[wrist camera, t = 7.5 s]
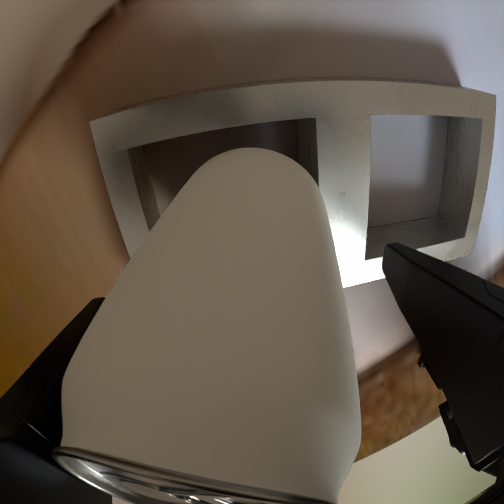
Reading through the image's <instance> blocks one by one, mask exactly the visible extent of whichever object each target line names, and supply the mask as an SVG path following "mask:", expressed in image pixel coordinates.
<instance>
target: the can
mask: <svg viewBox="0 0 504 504" xmlns="http://www.w3.org/2000/svg"><path fill="white" fill-rule="evenodd" d="M61 401H62V421H63V435H62V440H61V444H60V446H58V447H55V448H54V449H53V451H52V457H53V459H54V460H55V461H56V462H57V463H58V464H59V465H60V466H61V467H62V468H64V469H65V470H66V471H68V472H69V473H71V474H72V475H74V476H75V477H77V478H79V479H80V480H82V481H84V482H86V483H87V484H89V485H91V486H93V487H95V488H97V489H99V490H101V491H103V492H105V493H107V494H110V495H112V496H114V497H117V498H119V499H121V500H124V501H126V502H129V503H132V504H337V502H338V495H339V492H340V489H341V487H342V485H343V483H344V481H345V479H346V477H347V475H348V473H349V471H350V469H351V467H352V464H353V462H354V460H355V458H356V455H357V453H358V450H359V447H360V443H361V415H360V400H359V391H358V382H357V373H356V365H355V357H354V350H353V343H352V336H351V330H350V324H349V317H348V311H347V306H346V300H345V294H344V289H343V284H342V278H341V273H340V268H339V263H338V258H337V254H336V249H335V244H334V240H333V235H332V231H331V227H330V222H329V218H328V214H327V210H326V206H325V203H324V200H323V197H322V194H321V192H320V189H319V187H318V185H317V184H316V182H315V181H314V179H313V178H312V176H311V175H310V174H309V173H308V172H307V171H306V170H305V169H304V168H303V167H302V166H301V165H300V164H298V163H297V162H295V161H294V160H292V159H291V158H289V157H287V156H285V155H283V154H281V153H278V152H275V151H272V150H268V149H263V148H238V149H233V150H229V151H226V152H223V153H221V154H218V155H216V156H214V157H213V158H211V159H209V160H208V161H207V162H205V163H204V164H203V165H202V166H201V167H200V168H198V169H197V171H196V172H195V173H194V174H193V175H192V176H191V177H190V179H189V180H188V181H187V182H186V184H185V185H184V186H183V187H182V189H181V190H180V191H179V193H178V194H177V195H176V196H175V198H174V199H173V200H172V202H171V203H170V204H169V206H168V207H167V208H166V210H165V211H164V213H163V214H162V215H161V217H160V218H159V219H158V221H157V222H156V223H155V225H154V226H153V228H152V229H151V230H150V232H149V233H148V235H147V236H146V238H145V239H144V240H143V242H142V243H141V245H140V246H139V248H138V249H137V251H136V252H135V254H134V255H133V257H132V258H131V259H130V261H129V262H128V264H127V265H126V267H125V269H124V270H123V272H122V273H121V275H120V276H119V278H118V279H117V281H116V282H115V284H114V286H113V287H112V289H111V290H110V292H109V294H108V295H107V297H106V298H105V300H104V302H103V303H102V305H101V307H100V308H99V310H98V312H97V313H96V315H95V317H94V318H93V320H92V322H91V323H90V325H89V327H88V329H87V330H86V332H85V334H84V336H83V338H82V339H81V341H80V343H79V345H78V347H77V349H76V351H75V353H74V355H73V357H72V359H71V361H70V363H69V365H68V367H67V370H66V372H65V375H64V378H63V382H62V395H61Z"/></svg>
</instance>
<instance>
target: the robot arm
mask: <svg viewBox="0 0 504 504" xmlns="http://www.w3.org/2000/svg"><path fill="white" fill-rule="evenodd" d="M382 270H383V273H384V275H385V277H386V280H387V282H388V284H389V286H390V288H391V291H392V293H393V295H394V297H395V300H396V302H397V304H398V306H399V308H400V310H401V312H402V314H403V316H404V317H405V319H406V321H407V323H408V324H409V326H410V328H411V330H412V332H413V334H414V335H415V337H416V339H417V341H418V343H419V345H420V347H421V348H422V350H423V352H424V353H423V356H422V358H421V360H420V363H419V367H420V369H422V368H426V369H427V371H428V373H429V374H430V376H431V378H432V379H433V381H434V383H435V385H436V386H437V388H438V389H439V390H441V389H442V390H443V392H444V394H445V397H446V399H447V401H445V402H444V403H442V404H440V405H439V409H440V414H441V417H442V419H443V422H444V425H445V427H446V430H447V433H448V436H449V441H450V445H451V446H452V447H454V448H456V449H457V450H458V451H459V452H460V453H461V454H463V455H466V457H467V459H468V462H469V464H470V466H471V468H473V469H475V470H477V471H478V472H480V471H484V472H486V473H488V474H491V475H493V476H495V477H497V479H496V482H495V483H494V484H493V485H492V486H490V487H489V488H487V489H486V490H484V491H483V492H482V493H480V494H479V495H477V496H476V497H474V498H473V499H471V500H469V501H468V502H466V503H465V504H504V288H503V287H501V286H499V285H496V284H494V283H492V282H490V281H487V280H485V279H481V277H478V276H476V275H474V274H472V273H469V272H467V271H465V270H463V269H460V268H458V267H456V266H453V265H451V264H449V263H446V262H444V261H442V260H439V259H437V258H435V257H432V256H430V255H427V254H425V253H423V252H420V251H418V250H415V249H413V248H410V247H408V246H405V245H403V244H400V243H398V242H394V243H389V244H386V245H385V247H384V252H383V260H382ZM104 300H105V298H104V297H100V298H94V299H92V300H91V301H90V302H89V303H88V304H87V305H86V306H85V307H84V308H83V309H82V311H81V312H80V313H79V314H78V315H77V316H76V317H75V318H74V319H73V320H72V321H71V322H70V323H69V324H68V325H67V326H66V327H65V328H64V329H63V330H62V331H61V332H60V333H59V334H58V335H57V337H56V338H55V339H54V340H53V341H52V342H51V343H50V344H49V345H48V346H47V347H46V348H45V350H44V351H43V352H42V353H41V354H40V355H39V356H38V357H37V358H36V359H35V361H34V362H33V363H32V364H31V365H30V367H29V368H27V370H26V371H25V372H24V373H23V374H22V375H21V376H20V378H19V379H18V380H17V381H16V382H15V383H14V384H13V385H12V386H11V387H10V389H9V390H8V391H7V392H6V393H5V394H4V395H3V396H2V397H1V398H0V504H112V495H110V494H107V493H105V492H103V491H101V490H99V489H97V488H95V487H93V486H91V485H89V484H87V483H86V482H84V481H82V480H80V479H79V478H77V477H75V476H74V475H72V474H71V473H69V472H68V471H66V470H65V469H64V468H62V467H61V466H60V465H59V464H58V463H57V462H56V461H55V460H54V459H53V457H52V451H53V449H54V448H55V447H58V446H60V444H61V440H62V435H63V421H62V401H61V395H62V382H63V378H64V375H65V372H66V370H67V367H68V365H69V363H70V361H71V359H72V357H73V355H74V353H75V351H76V349H77V347H78V345H79V343H80V341H81V339H82V338H83V336H84V334H85V332H86V330H87V329H88V327H89V325H90V323H91V322H92V320H93V318H94V317H95V315H96V313H97V312H98V310H99V308H100V307H101V305H102V303H103V302H104Z"/></svg>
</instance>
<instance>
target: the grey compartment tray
mask: <svg viewBox="0 0 504 504" xmlns="http://www.w3.org/2000/svg"><path fill="white" fill-rule="evenodd" d="M378 114H408V115H439V116H448V136H447V150H446V161H445V171H444V179H443V187H442V195H441V201H440V208H439V214H438V216H435V217H429V218H424V219H418V220H413V221H407V222H402V223H396V224H390V225H385V226H379V227H374V228H368V229H367V224H368V209H369V189H370V151H371V129H370V115H378ZM495 114H496V95H494V94H490V93H486V92H483V91H479V90H475V89H470V88H466V87H461V86H455V85H448V84H441V83H432V82H423V81H413V80H400V79H383V78H308V79H291V80H278V81H267V82H257V83H248V84H240V85H233V86H226V87H219V88H213V89H207V90H201V91H195V92H190V93H185V94H180V95H175V96H170V97H166V98H161V99H157V100H153V101H149V102H145V103H141V104H137V105H133V106H129V107H126V108H122V109H118V110H115V111H111V112H109V113H106V114H104V115H102V116H100V117H98V118H96V119H94V120H92V121H90V122H89V123H90V127H91V132H92V136H93V140H94V144H95V148H96V152H97V155H98V159H99V163H100V166H101V170H102V173H103V177H104V180H105V184H106V187H107V191H108V194H109V197H110V200H111V203H112V207H113V210H114V213H115V216H116V219H117V222H118V225H119V228H120V231H121V234H122V237H123V239H124V242H125V245H126V248H127V251H128V253H129V256H130V259H131V258H132V257H133V255H134V254H135V252H136V251H137V249H138V248H139V246H140V245H141V243H142V242H143V240H144V239H145V238H146V236H147V235H148V233H149V232H150V230H151V229H152V228H153V226H154V225H155V223H156V222H157V221H158V219H159V218H160V214H159V210H158V207H157V203H156V199H155V195H154V191H153V187H152V184H151V180H150V176H149V171H148V167H147V163H146V159H145V155H144V150H143V146H142V145H144V144H148V143H153V142H157V141H161V140H166V139H170V138H175V137H180V136H185V135H190V134H195V133H200V132H206V131H212V130H217V129H223V128H230V127H236V126H243V125H250V124H257V123H265V122H273V121H282V120H292V119H296V129H297V142H298V156H299V164H300V165H301V166H302V167H303V168H304V169H305V170H306V171H307V172H308V173H309V174H310V175H311V176H312V178H313V179H314V181H315V182H316V184H317V185H318V187H319V189H320V192H321V194H322V197H323V200H324V203H325V206H326V210H327V214H328V218H329V222H330V227H331V231H332V235H333V240H334V244H335V249H336V254H337V258H338V263H339V268H340V273H341V278H342V284H343V287H347V286H352V285H356V284H360V283H364V282H369V281H373V280H377V279H381V278H385V275H384V273H383V270H382V260H383V252H384V247H385V245H386V244H389V243H394V242H398V243H400V244H403V245H405V246H408V247H410V248H413V249H415V250H418V251H420V252H423V253H425V254H427V255H430V256H432V257H435V258H437V259H439V260H442V261H444V262H446V261H449V260H453V259H456V258H460V257H463V256H467V255H470V254H472V251H473V248H474V244H475V240H476V236H477V233H478V228H479V224H480V220H481V215H482V211H483V206H484V201H485V196H486V191H487V185H488V179H489V172H490V166H491V158H492V150H493V140H494V129H495Z"/></svg>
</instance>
